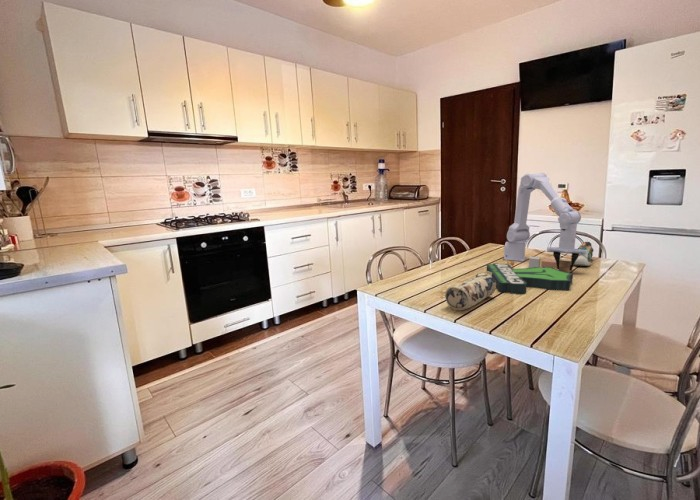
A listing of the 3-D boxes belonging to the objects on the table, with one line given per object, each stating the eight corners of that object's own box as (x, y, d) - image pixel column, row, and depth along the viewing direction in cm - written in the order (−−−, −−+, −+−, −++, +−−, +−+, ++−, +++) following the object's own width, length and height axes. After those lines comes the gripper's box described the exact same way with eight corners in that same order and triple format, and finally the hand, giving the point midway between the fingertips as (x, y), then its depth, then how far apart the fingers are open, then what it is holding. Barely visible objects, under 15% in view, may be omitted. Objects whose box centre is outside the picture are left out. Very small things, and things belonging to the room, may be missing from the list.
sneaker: (568, 266, 157) (570, 246, 155) (575, 257, 173) (577, 239, 171) (588, 269, 152) (590, 247, 150) (593, 259, 168) (595, 240, 166)
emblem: (485, 263, 155) (557, 264, 149) (485, 272, 156) (557, 273, 149) (500, 283, 126) (591, 285, 120) (500, 294, 127) (589, 297, 121)
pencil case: (474, 292, 129) (475, 268, 127) (496, 298, 122) (498, 272, 120) (442, 309, 114) (443, 281, 112) (465, 316, 108) (466, 287, 106)
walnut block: (558, 273, 148) (559, 262, 147) (559, 270, 151) (560, 260, 150) (569, 274, 146) (570, 263, 145) (569, 272, 149) (570, 261, 148)
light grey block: (528, 268, 157) (529, 258, 156) (530, 266, 160) (530, 256, 159) (538, 269, 155) (539, 259, 153) (539, 267, 158) (540, 257, 157)
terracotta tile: (541, 267, 160) (541, 261, 159) (543, 263, 165) (544, 257, 164) (558, 269, 155) (559, 262, 155) (560, 265, 161) (561, 259, 160)
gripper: (546, 239, 147) (544, 269, 149) (587, 241, 138) (584, 273, 141) (548, 236, 152) (546, 265, 155) (588, 239, 144) (584, 269, 147)
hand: (564, 269), depth 148 cm, fingers closed on walnut block, 4 cm apart
